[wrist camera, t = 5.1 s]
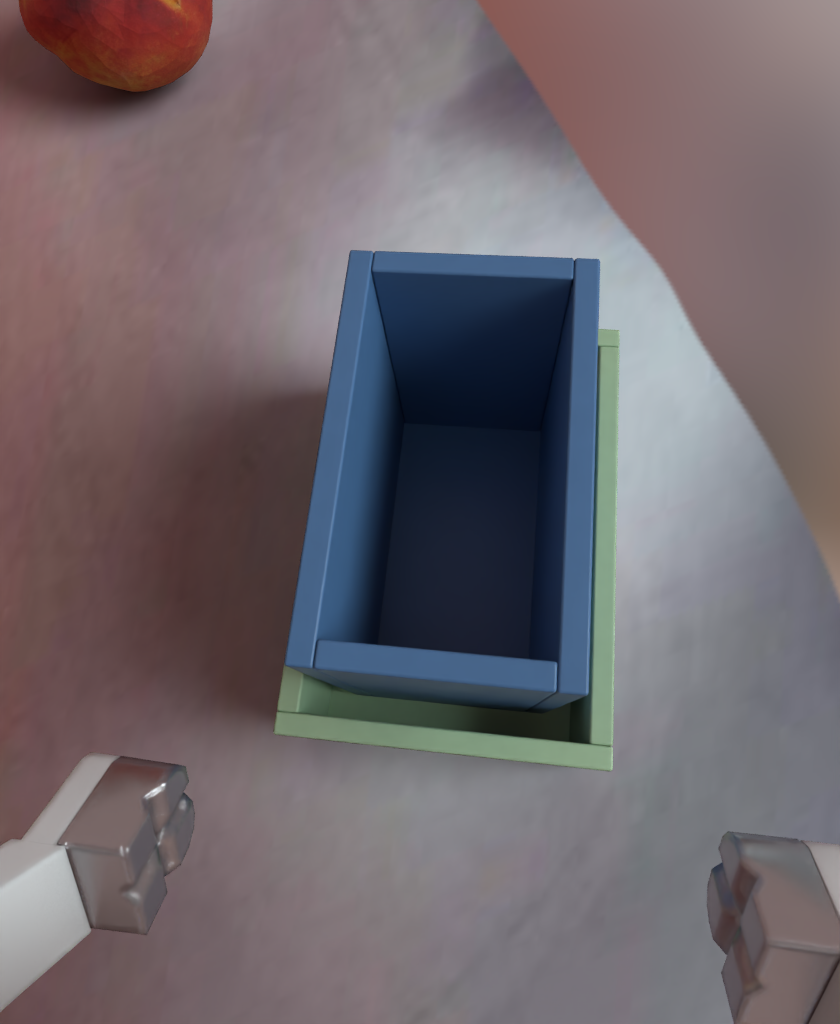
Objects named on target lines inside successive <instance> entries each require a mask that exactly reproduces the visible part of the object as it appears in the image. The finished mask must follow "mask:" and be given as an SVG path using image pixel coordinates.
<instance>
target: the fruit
mask: <svg viewBox="0 0 840 1024" xmlns="http://www.w3.org/2000/svg"><path fill="white" fill-rule="evenodd" d="M19 7H20V13H21V16H22V19H23V22H24V25H25V27H26V29H27V31H28V33H29V34H30V35H31V36H32V37H33V38H34V39H35V40H36V41H37V42H38V43H39V44H41V45H42V46H43V47H45V48H46V49H48V50H49V51H51V52H52V53H54V54H55V55H57V56H58V57H59V58H60V59H61V60H62V61H63V62H64V63H65V64H66V65H67V66H68V67H69V68H70V69H71V70H72V71H74V72H75V73H77V74H79V75H81V76H83V77H85V78H87V79H89V80H91V81H94V82H96V83H99V84H103V85H107V86H111V87H115V88H119V89H123V90H128V91H132V92H138V91H147V90H151V89H154V88H158V87H161V86H164V85H166V84H169V83H171V82H173V81H175V80H176V79H178V78H179V77H181V76H182V75H183V74H185V73H186V72H188V71H189V70H191V68H192V67H193V66H194V65H195V64H196V62H197V61H198V60H199V58H200V57H201V56H202V53H203V51H204V49H205V47H206V45H207V43H208V40H209V34H210V29H211V23H212V0H19Z"/></svg>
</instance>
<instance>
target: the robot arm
mask: <svg viewBox="0 0 840 1024" xmlns="http://www.w3.org/2000/svg"><path fill="white" fill-rule="evenodd" d="M188 783H189V779H188V774H187V770H186V766H182V765H177V764H171V763H164V762H158V761H151V760H145V759H138V758H132V757H125V756H117V755H110V754H102V753H95V752H91V753H89V754H88V755H86V756H85V757H83V758H82V759H81V760H80V761H79V762H78V764H77V765H76V766H75V768H74V769H73V770H72V772H71V773H70V774H69V776H68V777H67V779H66V780H65V781H64V783H63V784H62V785H61V787H60V788H59V789H58V791H57V792H56V793H55V795H54V796H53V797H52V799H51V800H50V801H49V803H48V804H47V805H46V807H45V808H44V809H43V811H42V812H41V813H40V815H39V816H38V817H37V819H36V820H35V821H34V823H33V824H32V825H31V827H30V828H29V829H28V831H27V832H26V833H25V835H24V836H23V837H22V839H21V840H19V839H10V840H9V841H7V842H5V843H4V844H2V845H0V1012H1V1011H2V1010H3V1009H4V1008H5V1007H6V1006H8V1005H9V1004H10V1003H11V1002H12V1001H13V1000H14V999H16V998H17V997H18V996H19V995H20V994H21V993H22V992H24V991H25V990H26V989H27V988H28V987H29V986H30V985H31V984H33V983H34V982H35V981H36V980H37V979H38V978H39V977H41V976H42V975H43V974H44V973H45V972H46V971H47V970H49V969H50V968H51V967H52V966H53V965H54V964H55V963H56V962H58V961H59V960H60V959H61V958H62V957H63V956H64V955H66V954H67V953H68V952H69V951H70V950H71V949H72V948H74V947H75V946H76V945H77V944H78V943H79V942H80V941H81V940H83V939H84V938H85V937H86V936H87V935H88V934H89V933H91V928H94V929H102V930H111V931H119V932H127V933H136V934H144V935H146V934H147V932H148V930H149V928H150V926H151V924H152V922H153V920H154V918H155V916H156V914H157V912H158V910H159V908H160V906H161V904H162V902H163V900H164V898H165V896H166V894H167V888H166V883H165V878H164V877H165V876H166V875H168V874H169V873H170V872H172V871H173V870H174V869H176V868H177V867H179V866H180V865H181V863H182V861H183V859H184V857H185V854H186V852H187V850H188V848H189V845H190V841H191V837H192V833H193V830H194V818H195V812H194V805H193V801H192V800H191V799H190V798H189V797H188V796H187V795H186V794H185V793H184V790H185V788H186V786H187V785H188ZM719 852H720V855H721V859H722V863H721V864H719V865H717V866H716V867H714V868H713V869H712V870H711V874H710V878H709V881H708V887H707V910H708V917H709V924H710V928H711V932H712V937H713V940H714V941H715V942H716V943H717V945H718V946H719V947H720V948H721V949H722V950H723V951H724V953H725V954H726V955H727V958H726V960H725V963H724V966H723V969H722V972H721V974H722V978H723V982H724V986H725V990H726V994H727V997H728V1001H729V1005H730V1009H731V1013H732V1017H733V1021H734V1024H840V845H836V844H828V843H820V842H812V841H804V840H801V841H799V840H798V839H792V838H783V837H774V836H765V835H756V834H747V833H738V832H729V831H728V832H727V833H726V834H725V835H724V836H723V837H722V840H721V843H720V846H719Z"/></svg>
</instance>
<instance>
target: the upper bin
mask: <svg viewBox="0 0 840 1024" xmlns="http://www.w3.org/2000/svg"><path fill="white" fill-rule="evenodd" d="M599 284H600V261H599V259H581V258H577V259H575V261H574V260H573V258H554V257H526V256H498V255H470V254H442V253H414V252H386V251H375V253H373V252H372V251H357V250H352V251H350V254H349V260H348V267H347V273H346V279H345V285H344V292H343V298H342V304H341V310H340V317H339V323H338V329H337V335H336V342H335V348H334V354H333V360H332V367H331V373H330V379H329V385H328V392H327V398H326V404H325V410H324V417H323V423H322V429H321V435H320V442H319V448H318V454H317V460H316V467H315V473H314V479H313V485H312V492H311V498H310V504H309V510H308V517H307V523H306V529H305V535H304V542H303V548H302V554H301V560H300V567H299V573H298V579H297V585H296V592H295V598H294V604H293V610H292V617H291V623H290V629H289V635H288V642H287V648H286V654H285V661H284V664H285V666H287V667H290V668H292V669H294V670H297V671H299V672H302V673H304V674H307V675H309V676H312V677H314V678H317V679H319V680H322V681H324V682H327V683H329V684H332V685H334V686H337V687H339V688H342V689H344V690H347V691H349V692H352V693H354V694H357V695H363V696H373V697H383V698H392V699H402V700H412V701H422V702H431V703H441V704H451V705H461V706H470V707H480V708H490V709H500V710H509V711H519V712H529V713H539V714H543V713H546V712H548V711H550V710H553V709H555V708H558V707H560V706H563V705H565V704H567V703H570V702H572V701H575V700H577V699H580V698H582V697H584V696H587V695H588V693H589V661H590V624H591V586H592V548H593V510H594V472H595V435H596V397H597V359H598V321H599Z"/></svg>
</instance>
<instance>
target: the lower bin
mask: <svg viewBox="0 0 840 1024" xmlns="http://www.w3.org/2000/svg"><path fill="white" fill-rule="evenodd" d="M618 391H619V330H606V329H598V359H597V397H596V435H595V472H594V510H593V548H592V586H591V624H590V661H589V693H588V695H587V696H584V697H582V698H580V699H577V700H575V701H572V702H570V703H567V704H565V705H563V706H560V707H558V708H555V709H553V710H550V711H548V712H546V713H543V714H539V713H529V712H519V711H509V710H500V709H490V708H480V707H470V706H461V705H451V704H441V703H431V702H422V701H412V700H402V699H392V698H383V697H373V696H363V695H357V694H354V693H352V692H349V691H347V690H344V689H342V688H339V687H337V686H334V685H332V684H329V683H327V682H324V681H322V680H319V679H317V678H314V677H312V676H309V675H307V674H304V673H302V672H299V671H297V670H294V669H292V668H290V667H287V666H285V664H284V667H283V674H282V680H281V686H280V692H279V699H278V705H277V710H278V712H277V713H276V718H275V724H274V730H273V732H274V734H275V735H283V736H292V737H301V738H310V739H319V740H328V741H337V742H347V743H356V744H365V745H374V746H383V747H392V748H401V749H410V750H419V751H429V752H438V753H447V754H456V755H465V756H474V757H483V758H492V759H501V760H511V761H520V762H529V763H538V764H547V765H556V766H565V767H574V768H583V769H593V770H602V771H612V769H613V749H612V747H610V746H612V745H613V710H614V646H615V583H616V519H617V455H618Z"/></svg>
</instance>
